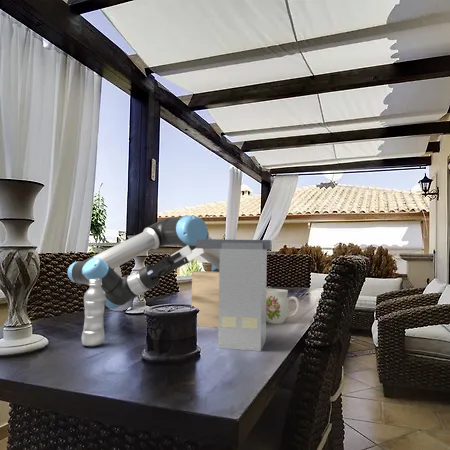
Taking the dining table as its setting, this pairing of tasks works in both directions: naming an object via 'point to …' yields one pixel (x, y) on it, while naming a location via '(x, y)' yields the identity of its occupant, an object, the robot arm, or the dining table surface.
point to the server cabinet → (242, 296)
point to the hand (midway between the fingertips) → (196, 248)
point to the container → (124, 304)
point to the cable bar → (218, 242)
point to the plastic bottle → (94, 314)
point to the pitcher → (278, 305)
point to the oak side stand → (206, 297)
